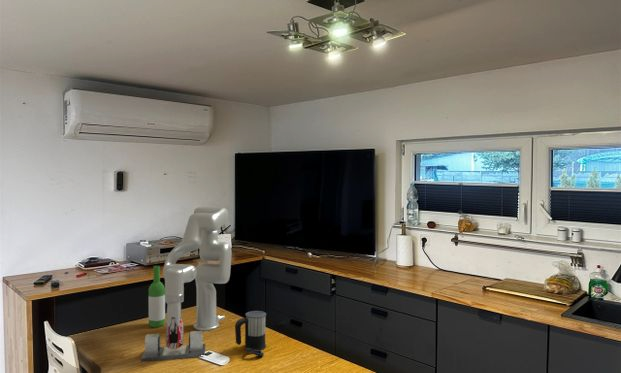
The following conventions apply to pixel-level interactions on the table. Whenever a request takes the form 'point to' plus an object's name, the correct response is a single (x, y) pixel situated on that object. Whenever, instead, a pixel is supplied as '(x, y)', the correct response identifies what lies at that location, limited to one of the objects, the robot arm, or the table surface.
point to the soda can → (180, 336)
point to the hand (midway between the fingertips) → (174, 338)
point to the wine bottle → (156, 301)
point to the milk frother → (252, 332)
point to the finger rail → (164, 353)
